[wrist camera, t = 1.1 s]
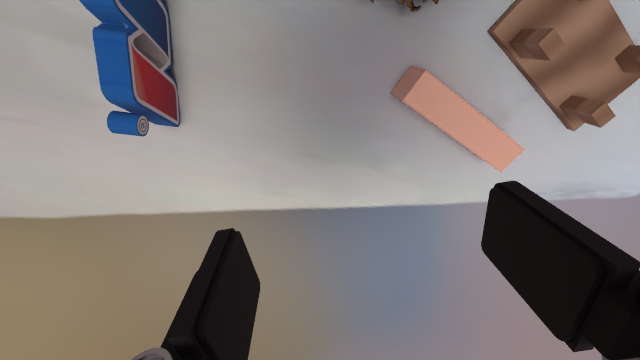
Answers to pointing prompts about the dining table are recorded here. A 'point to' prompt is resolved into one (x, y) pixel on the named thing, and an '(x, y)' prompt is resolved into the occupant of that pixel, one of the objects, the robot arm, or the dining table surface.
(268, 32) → the dining table surface
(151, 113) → the logo
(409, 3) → the dragon fruit
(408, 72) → the clay strip
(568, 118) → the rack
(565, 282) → the robot arm
